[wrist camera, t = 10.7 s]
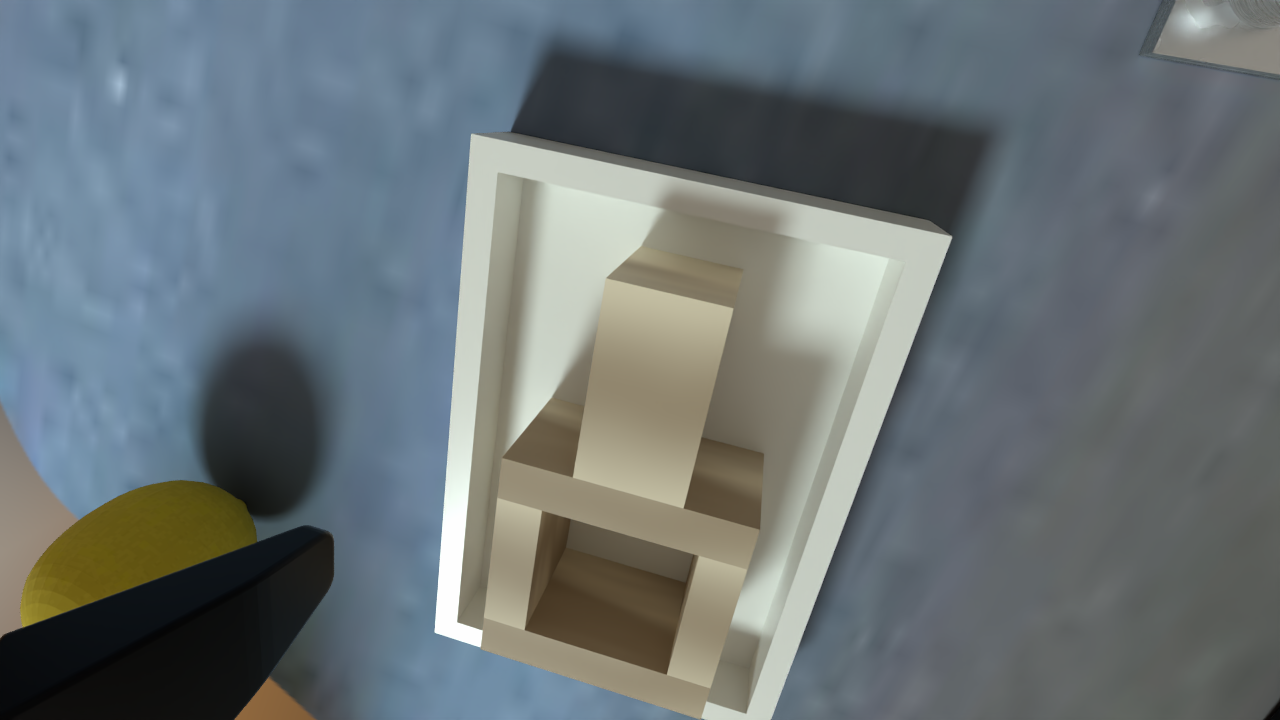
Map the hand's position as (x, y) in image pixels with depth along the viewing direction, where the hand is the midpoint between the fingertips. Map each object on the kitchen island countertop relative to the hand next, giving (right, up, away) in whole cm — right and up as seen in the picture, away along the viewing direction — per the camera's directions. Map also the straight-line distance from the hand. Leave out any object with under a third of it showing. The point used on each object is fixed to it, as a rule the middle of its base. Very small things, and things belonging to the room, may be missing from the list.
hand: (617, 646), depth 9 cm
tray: (+1, +1, +12) cm, 12 cm away
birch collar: (+1, +1, +12) cm, 12 cm away
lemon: (-16, -2, +17) cm, 24 cm away
